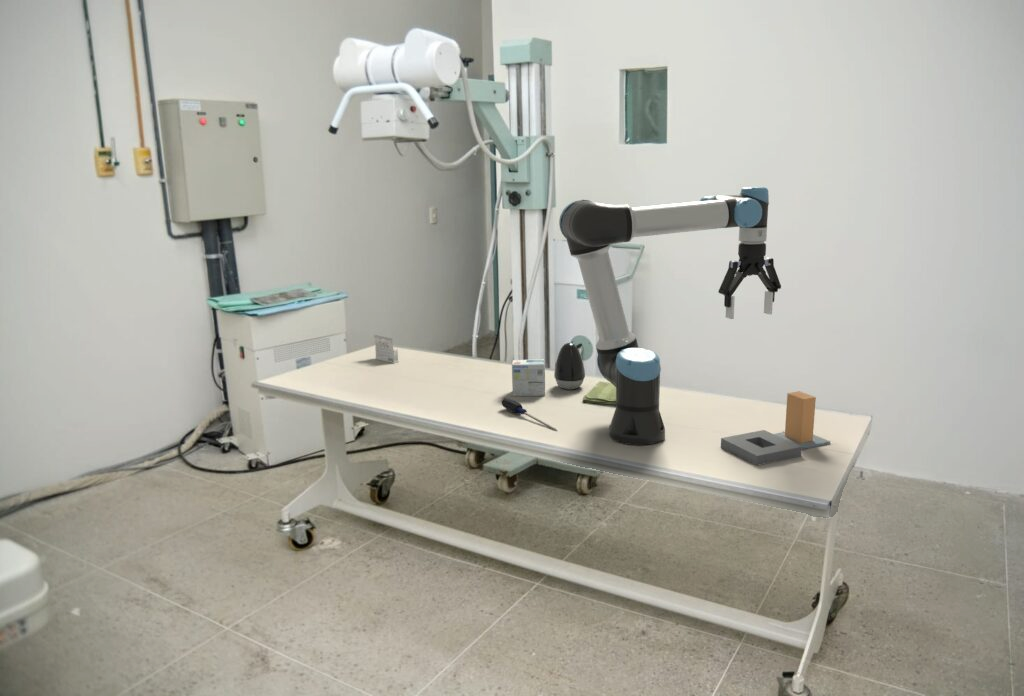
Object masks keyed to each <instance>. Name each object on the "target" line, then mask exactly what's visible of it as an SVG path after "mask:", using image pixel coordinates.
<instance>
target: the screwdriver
mask: <svg viewBox="0 0 1024 696" xmlns="http://www.w3.org/2000/svg"><path fill="white" fill-rule="evenodd" d="M501 405H502V407H503V408H505V409H506V410H507V411H509V412H510V413H512V414H514V415H519V414H520V415H526V416H528V417H529V418H531V419H533V420H535V421H536V422H538V423H540V424H542V425H544V426H545V427H547V428H550V429H551V428H552V429H551V430H553V429H554V430H553V431H555V430H557V431H558V429H557V428H555V427H553V426H552V425H550V424H548V423H546V422H545V421H543V420H541V419H539V418H538V417H536V416H533V415H531V414H530V413H528V411H527V409H525V408H524V407H523V405H522V404H521V403H520V402H519V401H516V400H514V399H512V398H509V397H504V398H502V400H501Z"/></svg>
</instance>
